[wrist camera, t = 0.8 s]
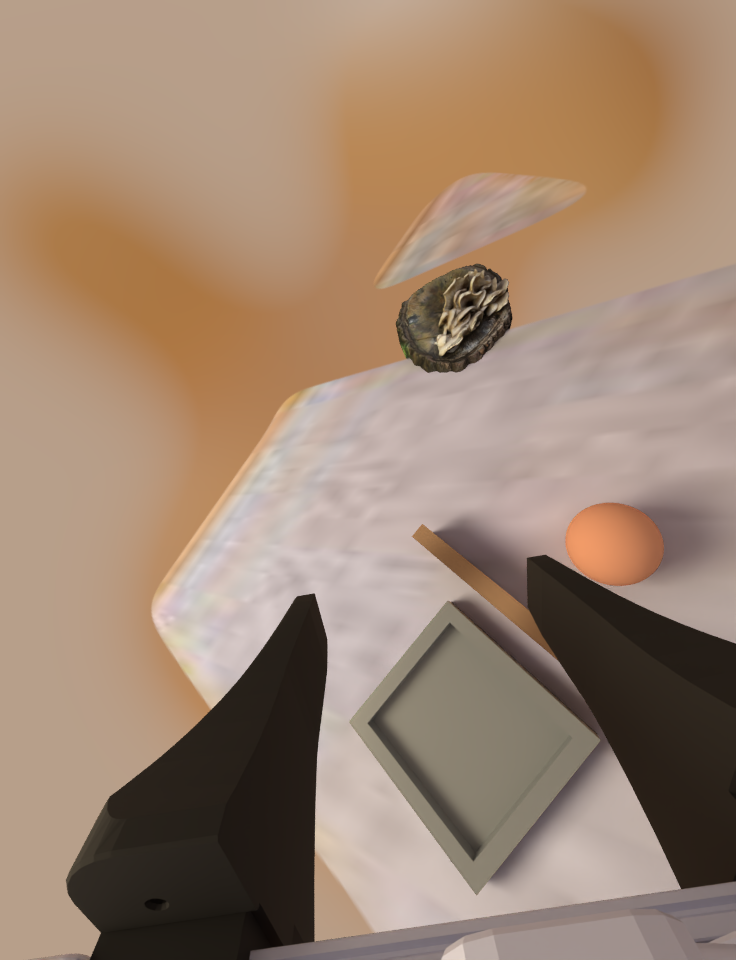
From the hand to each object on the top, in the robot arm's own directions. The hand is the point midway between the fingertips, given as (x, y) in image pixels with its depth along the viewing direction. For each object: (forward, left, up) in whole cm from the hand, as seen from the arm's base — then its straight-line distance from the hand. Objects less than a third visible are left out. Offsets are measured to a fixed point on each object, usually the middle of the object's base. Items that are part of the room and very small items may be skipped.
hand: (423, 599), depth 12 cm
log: (+18, -20, -17) cm, 32 cm away
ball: (-4, -9, -14) cm, 17 cm away
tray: (-4, +6, -16) cm, 18 cm away
